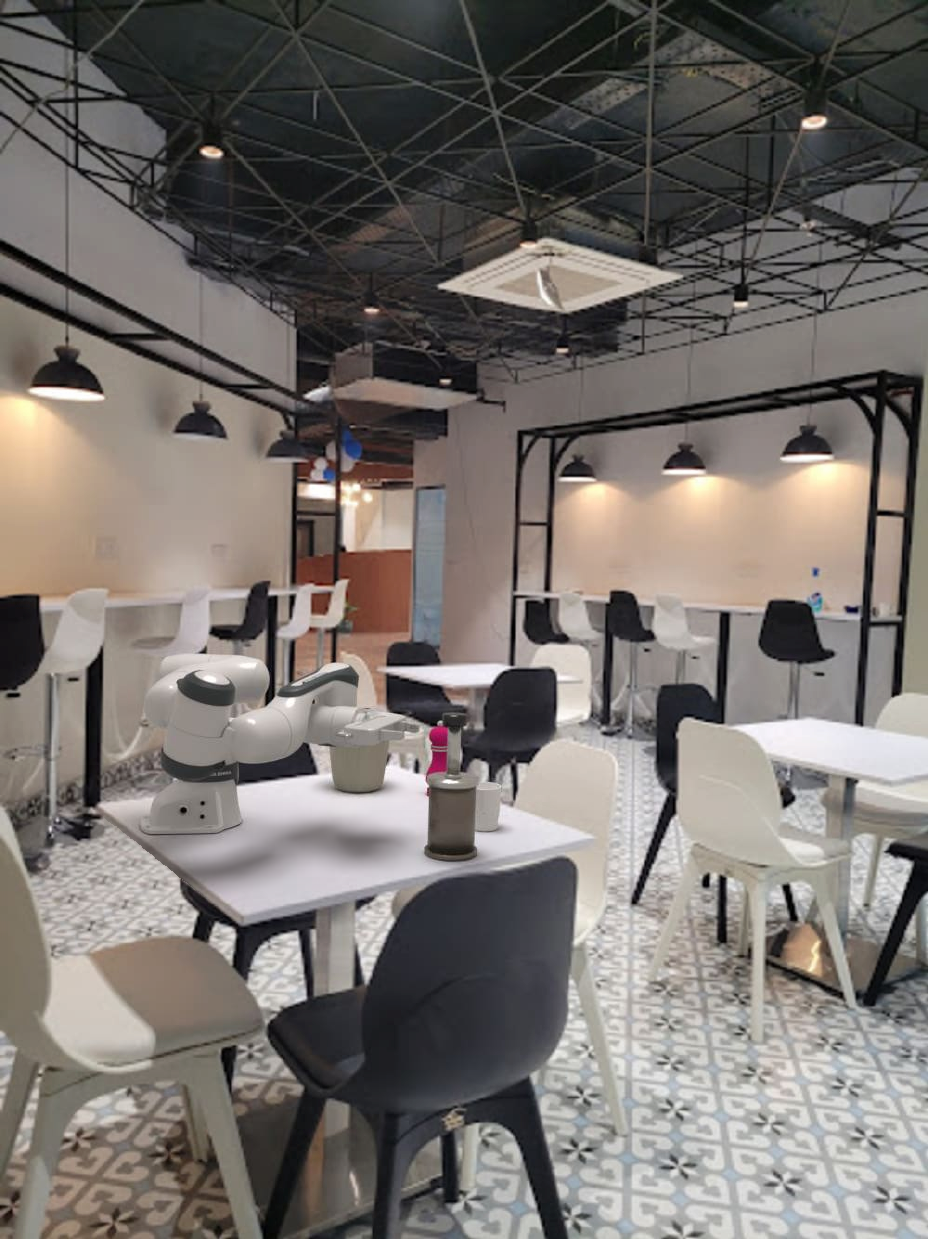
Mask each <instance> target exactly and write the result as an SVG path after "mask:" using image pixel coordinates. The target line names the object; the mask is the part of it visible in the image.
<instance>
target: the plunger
mask: <svg viewBox="0 0 928 1239" xmlns="http://www.w3.org/2000/svg"><path fill="white" fill-rule="evenodd" d="M441 721H442V725H444V726H443V727H447V728H448V743H447V774H448V775H459V774H460V772H461V753H462V752H461V747H462V727H463V728H464V727H467V726H468V714H467V713H463V712H444V713H442V720H441Z"/></svg>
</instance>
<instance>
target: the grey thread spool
mask: <svg viewBox="0 0 928 1239" xmlns="http://www.w3.org/2000/svg"><path fill="white" fill-rule="evenodd" d="M479 782H480V777H479V776H478V775H475V774H473V773H469V772H462V771H460V774H459V775H448V774H447V772H437V773H432V774H429V775H428V776H427V783H426V784H427V786H428V787H429V796H428V807H427V808H428V810H427V811H428V814H427V815H428V816H427V817H428V818H427V841H426V842H427V844H426V845H425V846H424V851H423V853H424V855H425V856H426V857H428V858H430V859H432V860H437V861H442V862H463V861H468V860H472V859H474V858H476V857H477V856H478V847H477V846H476V845H475V841H476V840H475V839H476V830H475V815H476V786H478V785H479Z"/></svg>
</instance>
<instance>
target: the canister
mask: <svg viewBox="0 0 928 1239" xmlns="http://www.w3.org/2000/svg"><path fill="white" fill-rule="evenodd" d="M390 741H391V740H389V741H383V742H380V743H378V744H376V745H374V746H363V745H360V746H359V747H358V748H352V747H341V746H337V747H329V756H330V757H329V758H330V768H331V777H332V781H333V784H334V787H335V788H336V789H337V790H338V789H339V790H341V791H343V792H349V793H368V792H369V793H370V792H374V791H376V790H378V789H380V788H381V787H382V785H383V783H384V780H385V775H386V770H387V769H386V768H387V761H388V756H389V755H388V754H389V747H390Z"/></svg>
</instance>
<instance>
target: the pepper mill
mask: <svg viewBox="0 0 928 1239" xmlns="http://www.w3.org/2000/svg"><path fill="white" fill-rule="evenodd" d="M428 739H429V741H430V743H431V744H430V750H431V752H432V753H431V754H432V755H431V762H430V764H429V767H428V769H427V770H426V774H425V782H426V784H427V776H428V775H429V774H432V773H437V772H447V743H448V727H447V726H444V725H442V720H439V721H437V726H435V727H433V728H432V729H430V731H429V734H428ZM426 795H427V797H429V786H427V788H426Z"/></svg>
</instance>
